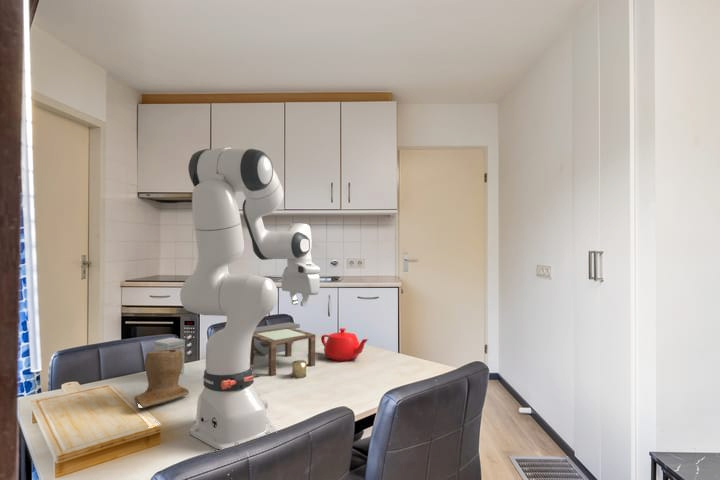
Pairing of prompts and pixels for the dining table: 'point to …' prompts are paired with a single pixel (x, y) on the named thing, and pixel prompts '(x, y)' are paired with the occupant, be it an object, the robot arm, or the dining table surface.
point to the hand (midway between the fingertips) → (299, 305)
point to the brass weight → (299, 369)
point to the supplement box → (171, 346)
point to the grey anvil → (264, 348)
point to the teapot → (342, 346)
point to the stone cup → (162, 378)
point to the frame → (287, 347)
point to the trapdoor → (280, 334)
